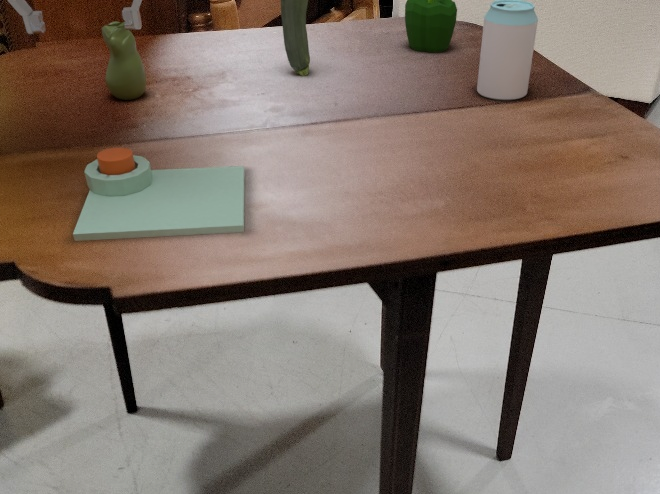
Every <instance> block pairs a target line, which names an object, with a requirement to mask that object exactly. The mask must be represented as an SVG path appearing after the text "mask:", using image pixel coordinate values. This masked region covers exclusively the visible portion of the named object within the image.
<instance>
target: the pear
mask: <svg viewBox="0 0 660 494" xmlns="http://www.w3.org/2000/svg"><path fill="white" fill-rule="evenodd" d="M124 23H125V21H124V20H123V21H121V22H120V21H112V22H110V23H108V24H107V25H103V26H102V27H101V34H102V40H103V42H104V43H105V45H106V47H107V49H108V51H109V59H108V63H107V67H106V72H105V76H104V79H105V80H104V81H105V85H106V87H107V89H108V91H109V93H111V95H112V96H113V97H115V98H116V99H119V100H123V101H131V100H136V99H138V98H140V97H141V96H143V94H144V92H145V91H146V88H147V76H146V71H145V67H144V63H143V60H142V57H141V55H140V53H139V51H138V49H137V42H136V38H135V36H134V34H133V32H132V31H131V30H126V29H125V26H124Z"/></svg>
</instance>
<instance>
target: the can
mask: <svg viewBox="0 0 660 494" xmlns="http://www.w3.org/2000/svg"><path fill="white" fill-rule="evenodd" d="M489 6H490V8H489V9H488V10H487V12H486V13H485V14H484V16H483V25H482V33H481V34H482V35H481V45H480V56H479V63H478V65H479V66H478V75H477V83H476V92H477V93H478V94H479V95H480V96H482V97H483V98H485V99H490V100H494V101H514V100H515V101H516V100H520V99H523V98H524V97H526V96H527V94H528V92H529V91H528V89H529V83H530V76H531V69H532V64H533V63H532V62H533V58H534V57H533V56H534V49H535V43H536V36H537V29H538V21H539V19H538V16H537V14H536V11H535V8H536V5H535V4H534V3H533V2H530V1H528V0H493V1H492V2H490V5H489Z"/></svg>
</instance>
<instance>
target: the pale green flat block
mask: <svg viewBox="0 0 660 494" xmlns="http://www.w3.org/2000/svg"><path fill="white" fill-rule="evenodd" d="M133 157H134V162H135V167H136V168H135V170H133V171H131V172H129V173H125V174H121V175H105V174H101V172H100V169H99V164H98V160H97V159H95V160H93V161H91V162H90V163H88V164H86V167H85V169H84V176H85V180H86V184H87V188H88V189H89V191H88V194H87V196H86V199H85V201H84V204H83V206H82V209H81V211H80V214H79V217H78V219H77V222H76V225H75V227H74V230H73V233H72V236H73V241H75V242H78V241H79V242H81V241H82V242H83V241H102V240H120V239H122V240H123V239H137V238H139V239H140V238H157V237H158V238H159V237H173V236H174V237H175V236H193V235H194V236H196V235H215V234H233V233H234V234H235V233H244V232H245V177H246V176H245V166H244V165H235V166H233V165H231V166H213V167H212V166H211V167H210V166H209V167H189V168H168V169H167V168H165V169H164V168H163V169H152V168H151V163H150V162H151V161H149V160H148V159H146V158H145V157H144V156H141V155H136V154H133Z"/></svg>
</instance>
